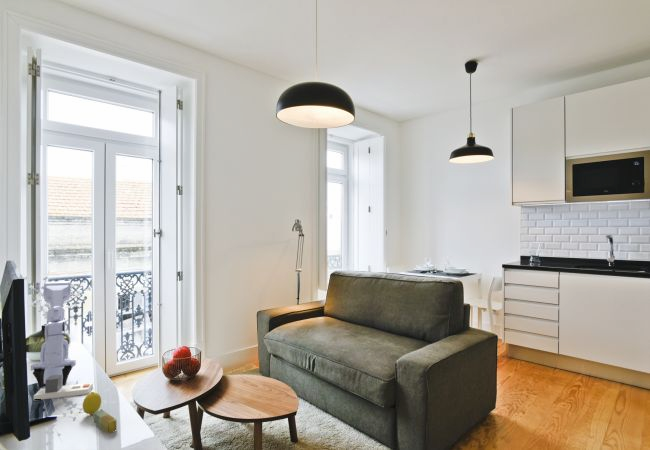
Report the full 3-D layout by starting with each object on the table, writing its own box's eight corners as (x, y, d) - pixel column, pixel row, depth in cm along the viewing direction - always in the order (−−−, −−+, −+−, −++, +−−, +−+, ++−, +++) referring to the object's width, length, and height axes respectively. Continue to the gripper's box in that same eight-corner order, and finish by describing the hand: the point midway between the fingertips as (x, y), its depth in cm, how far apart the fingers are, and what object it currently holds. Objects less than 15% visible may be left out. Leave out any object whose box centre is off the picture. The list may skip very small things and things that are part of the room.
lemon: (91, 419, 124) (92, 395, 124) (78, 417, 125) (79, 394, 125) (104, 412, 129) (105, 389, 130) (91, 410, 130) (92, 388, 131)
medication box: (92, 423, 122) (93, 411, 122) (101, 420, 124) (101, 408, 124) (108, 435, 115) (108, 422, 115) (117, 431, 117) (117, 418, 117)
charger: (49, 392, 144) (50, 375, 144) (61, 391, 146) (62, 374, 146) (45, 397, 140) (45, 380, 140) (57, 396, 141) (57, 378, 141)
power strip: (40, 396, 144) (41, 387, 144) (92, 389, 150) (92, 381, 150) (33, 403, 137) (33, 393, 137) (87, 396, 143) (88, 387, 144)
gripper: (27, 356, 137) (26, 392, 136) (72, 352, 142) (70, 387, 141) (35, 351, 144) (34, 385, 143) (77, 347, 149) (76, 381, 148)
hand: (52, 386), depth 143 cm, fingers open, 7 cm apart
